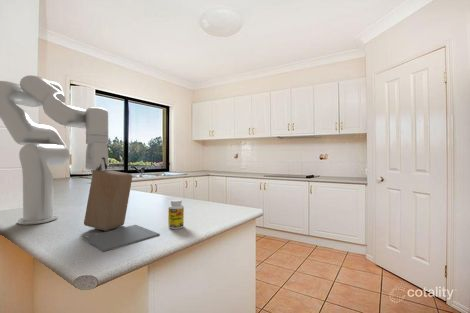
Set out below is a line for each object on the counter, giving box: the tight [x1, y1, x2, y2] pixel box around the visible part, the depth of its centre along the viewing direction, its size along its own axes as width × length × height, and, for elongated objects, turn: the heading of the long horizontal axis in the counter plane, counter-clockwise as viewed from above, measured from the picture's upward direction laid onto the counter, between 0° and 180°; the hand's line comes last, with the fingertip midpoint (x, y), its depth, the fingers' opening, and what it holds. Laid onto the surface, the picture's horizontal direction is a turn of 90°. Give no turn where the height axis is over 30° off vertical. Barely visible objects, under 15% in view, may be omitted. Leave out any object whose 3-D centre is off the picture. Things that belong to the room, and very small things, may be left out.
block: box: [83, 170, 133, 232], centre depth 88 cm, size 10×10×20 cm
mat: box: [82, 224, 161, 253], centre depth 79 cm, size 16×18×1 cm
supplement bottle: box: [167, 199, 185, 230], centre depth 89 cm, size 6×6×10 cm
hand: (97, 187), depth 91 cm, fingers closed
